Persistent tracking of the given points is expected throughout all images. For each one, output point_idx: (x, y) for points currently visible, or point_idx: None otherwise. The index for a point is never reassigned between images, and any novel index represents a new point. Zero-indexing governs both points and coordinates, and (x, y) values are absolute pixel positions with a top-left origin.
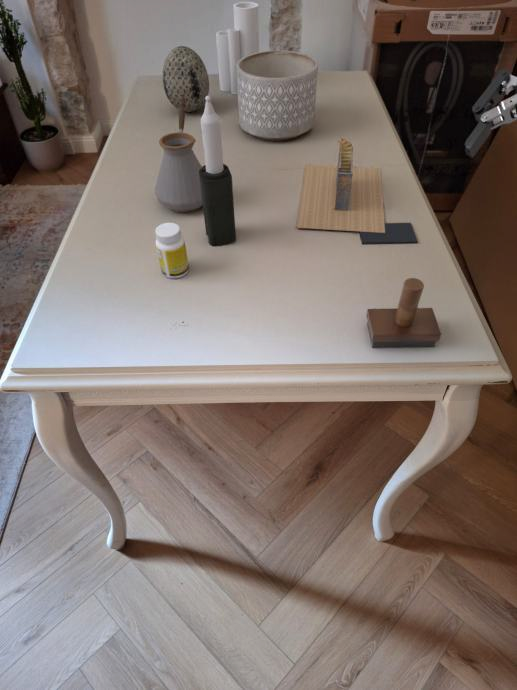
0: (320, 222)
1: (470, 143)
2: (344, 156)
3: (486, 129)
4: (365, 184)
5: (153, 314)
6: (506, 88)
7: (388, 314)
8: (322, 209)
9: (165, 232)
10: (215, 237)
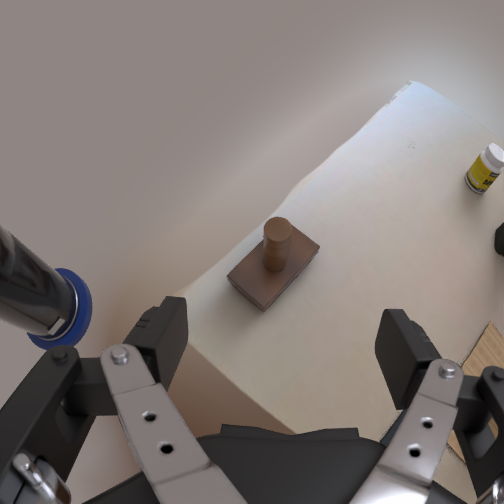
0: (485, 355)
1: (400, 314)
2: None
3: (408, 367)
4: None
5: (431, 140)
6: (497, 490)
7: (295, 256)
8: None
9: (494, 148)
10: (501, 225)
